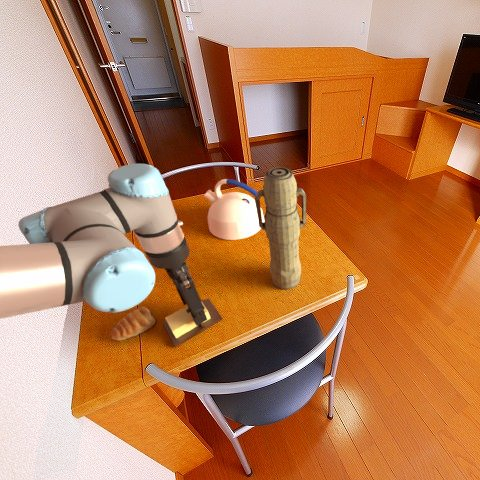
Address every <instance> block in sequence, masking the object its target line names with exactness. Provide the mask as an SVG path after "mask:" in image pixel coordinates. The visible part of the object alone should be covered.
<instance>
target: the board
mask: <svg viewBox="0 0 480 480" xmlns="http://www.w3.org/2000/svg"><path fill="white" fill-rule="evenodd" d="M201 302H202V303H203V305H204V306H205V308H206V309H207V311H208V313H209V315H210V318H211V319H209V320H207V321H205V322H204V323H203V324H204V326H203V327H202V325H201V324H200V325H198V326H197V327H195V328H193V329H192V330H190V331H188V332H186V333H185V334H183V335H181V336H180V337H178V338H176V337H175V336H174V334H173V332H172V330H171V328H170V326H169V324H168V323H167V321H166V320H165V321H164V322H162V324H163V326H164V328H165V330H166V332H167V334H168V337H169V338H170V340H171V342H172V344H173V346H174V348H177V347H179V346H181V345H182V344H184V343H186V342H188V341H189V340H191V339H192V338H194V337H196V336H197V335H199V334H200V333H202V332H204V331H206V330H207V329H209V328H211V327H212V326H214V325H216V324H218V323H219V322H221V321H222V320H223V317H222V315H221V314H220V312H219V311H218V309H217V308H216V307H215V305H214V304H213V302H212V301H211V300H210V298H209V297H208V298H206V299H205V300H201Z"/></svg>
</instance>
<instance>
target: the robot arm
mask: <svg viewBox="0 0 480 480" xmlns="http://www.w3.org/2000/svg"><path fill="white" fill-rule="evenodd" d="M162 176H163V175H162V174H161V172H160V170H159V169H158V168H157V167H155V166H154V165H151V164H147V163H130V164H125V165H122V166H119V167H118V168H116V169H114V170H112V171H110V172H109V173H108V175H107V182H108V188H104V189H103V190H101V191H97V192H95V193H91V194H88V195H85V196H81V197H79V198H75V199H72V200H69V201H65V202H63V203H60V204H56V205H52V206H48V207H47V206H46V207H44V208H42V209H41V210H39V211H36V212H33V213H31V214H29V215H26V216H24V217H22V218H21V219H19V221H18V223H17V225H18V229H19V231H20V232H21V233H22V235H23V236H24V238H25V239H26V241H27V242H28V243H26V244H25V243H23V244H9V245H0V320H1V319H6V318H12V317H16V316H20V315H21V316H22V315H25V314H30V313H31V314H32V313H35V312H36V313H37V312H40V311H45V310H49V309H55V308H60V307H65V306H70V305H74V304H81V303H86V304H87V305H89V306H90V307H91V308H93V309H94V310H96V311H98V312H103V313H104V312H105V313H112V314H115V313H120V312H124V311H127V310H130V309H132V308H134V307H136V306H138V305H139V304H141V303H142V302H143V301H145V299H146V298H148V297H149V295H150V294H151V293H152V291H153V289H154V286H155V284H156V281H157V279H156V272H155V269H154V268H156V269H161V270H164V271H165V272H166V274H167V276H168V277H169V279H171V280H172V283H173V285H174V286H175V289H176V292H177V293H178V296H179V298H180V300H181V302H182V304H183V306H187V305H186V303H185V301H186V302H187V304H188V306H189V307H188V309H187V310H186V311H187V313H191V315H192V317H193V320H194V322H195V324H196V326H197V325H199V324H201V323H203V322H204V321H206V320H207V317H206V315H205V312H204V309H205V308H204V306H203V304H202V300H201V297H200V294H199V292H198V290H197V288H196V285H195V282H194V279H193V277H192V276H191V273H190V272H189V266H188V264H187V262H186V261H187V259H188V258H189V256H190V252H191V251H190V250H191V249H190V247H189V244H188V242H187V239H186V237H185V234H184V232H183V229H182V228H181V227H182V226H183V225H184V221H182V220H179V218H178V215H177V213H176V210H175V207H174V205H173V200H172V199H171V196H170V192H169V189H168V187H167V186H166V182H165V181H164V177H162ZM132 231H133V232H134V235H135V237H136V239H137V241H138V243H139V245H140V247H141V249H142V250H143V251H144V252H142V251H141V250H140V249H139V248H137V246H135V245H134V244H133V242H131V240H130V239H129V238H128V237H127V236H126V234H129V233H131V232H132ZM145 255H146V256H145ZM179 289H180V290H179ZM180 291H181V292H180ZM181 293H182V294H181ZM182 295H183V297H184V299H185V301H184V299H183V297H182Z"/></svg>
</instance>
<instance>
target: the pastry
mask: <svg viewBox="0 0 480 480" xmlns="http://www.w3.org/2000/svg"><path fill="white" fill-rule="evenodd" d="M151 314H152V313H151V311H150V309H149V308H147V307H146V306H140V307H139V308H136V309H134V310H132V311H131V312H128V313H127V314H126V315H125V316H123V318H121V320H120V321H118V322H117V323H116V324H115V325H114V326H113V328H111V329H110V332H109V333H110V338H111V340H112V341H115V342H116V341H117V342H122V341H124V340H128V339H130V338H134V337H137V336H138V335H140V334H142V333H145V332H146V331H147V330H150V329H151V328H152V327H153V326H154V325H155V324H156V319H155V317H154V316H153V315H151Z"/></svg>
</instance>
